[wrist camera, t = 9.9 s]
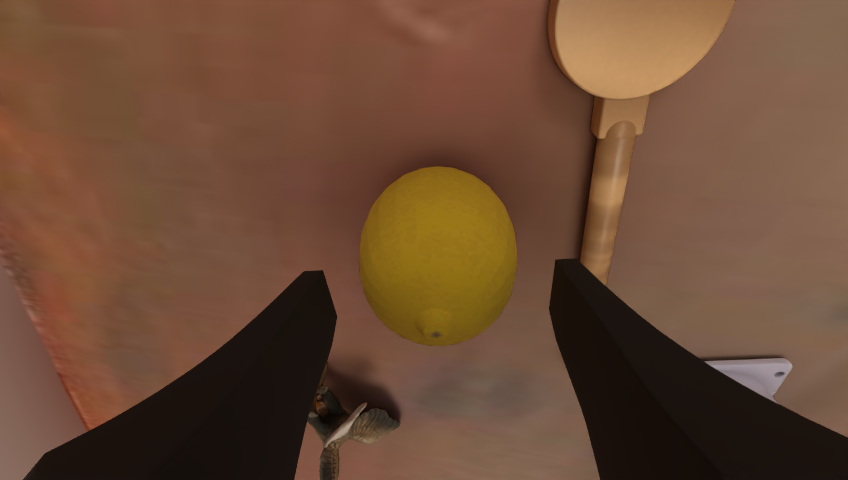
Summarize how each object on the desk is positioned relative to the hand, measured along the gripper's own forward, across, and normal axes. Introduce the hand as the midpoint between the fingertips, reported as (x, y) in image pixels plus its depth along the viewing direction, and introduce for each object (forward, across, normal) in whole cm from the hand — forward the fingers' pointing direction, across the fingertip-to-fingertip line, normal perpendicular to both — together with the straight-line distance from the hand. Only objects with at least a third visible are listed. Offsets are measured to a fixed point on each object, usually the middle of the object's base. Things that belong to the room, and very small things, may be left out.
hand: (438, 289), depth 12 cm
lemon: (+6, 0, 0) cm, 6 cm away
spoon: (+6, -7, 0) cm, 9 cm away
